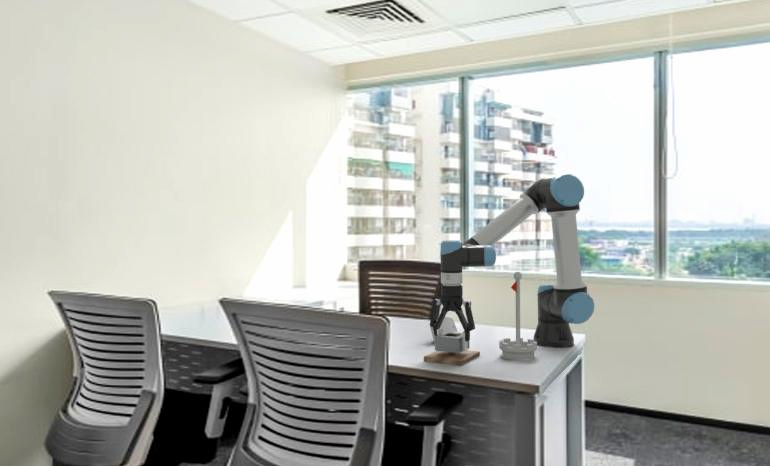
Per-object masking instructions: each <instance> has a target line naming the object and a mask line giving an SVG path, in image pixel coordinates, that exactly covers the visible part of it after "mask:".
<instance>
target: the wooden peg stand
mask: <svg viewBox="0 0 770 466" xmlns="http://www.w3.org/2000/svg"><path fill="white" fill-rule="evenodd" d="M451 337H454V336H451ZM479 357H481V352H480V351H477V350H476V351H475V350H469V349H468V350H466V351H463V352H460V353H452V352H444V351H436V350H434V352H430V353H428V354H426V355H424V356H423V361H424V362H429V363H430V362H431V363H437V364H443V365H444V364H446V365H452V366H460V367H462V366H463V365H466V364H468V363H469V362H471V361H473V360H475V359H478V358H479Z"/></svg>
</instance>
